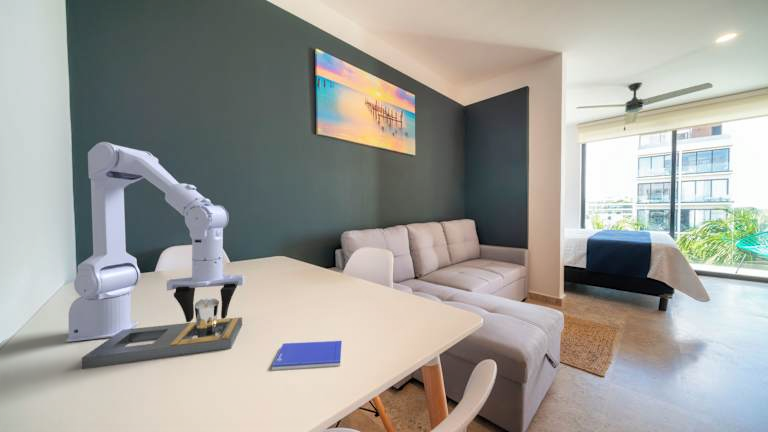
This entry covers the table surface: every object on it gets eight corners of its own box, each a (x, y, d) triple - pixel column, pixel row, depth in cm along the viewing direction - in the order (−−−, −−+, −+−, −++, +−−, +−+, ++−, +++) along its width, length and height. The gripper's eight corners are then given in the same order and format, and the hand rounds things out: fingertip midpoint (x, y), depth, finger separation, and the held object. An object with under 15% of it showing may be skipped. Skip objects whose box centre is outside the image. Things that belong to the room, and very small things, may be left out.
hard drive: (272, 364, 48) (340, 360, 49) (283, 342, 56) (341, 339, 58) (272, 373, 48) (340, 368, 50) (283, 349, 56) (341, 346, 58)
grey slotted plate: (81, 368, 47) (81, 356, 47) (122, 338, 59) (122, 328, 59) (231, 348, 55) (231, 338, 55) (242, 325, 67) (242, 316, 67)
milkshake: (192, 348, 55) (192, 301, 55) (195, 337, 60) (196, 294, 60) (217, 343, 57) (218, 297, 57) (219, 333, 62) (219, 291, 62)
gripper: (159, 263, 53) (159, 330, 53) (240, 260, 57) (239, 321, 57) (175, 257, 59) (174, 317, 59) (246, 255, 64) (245, 310, 64)
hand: (207, 318), depth 59 cm, fingers open, 6 cm apart
